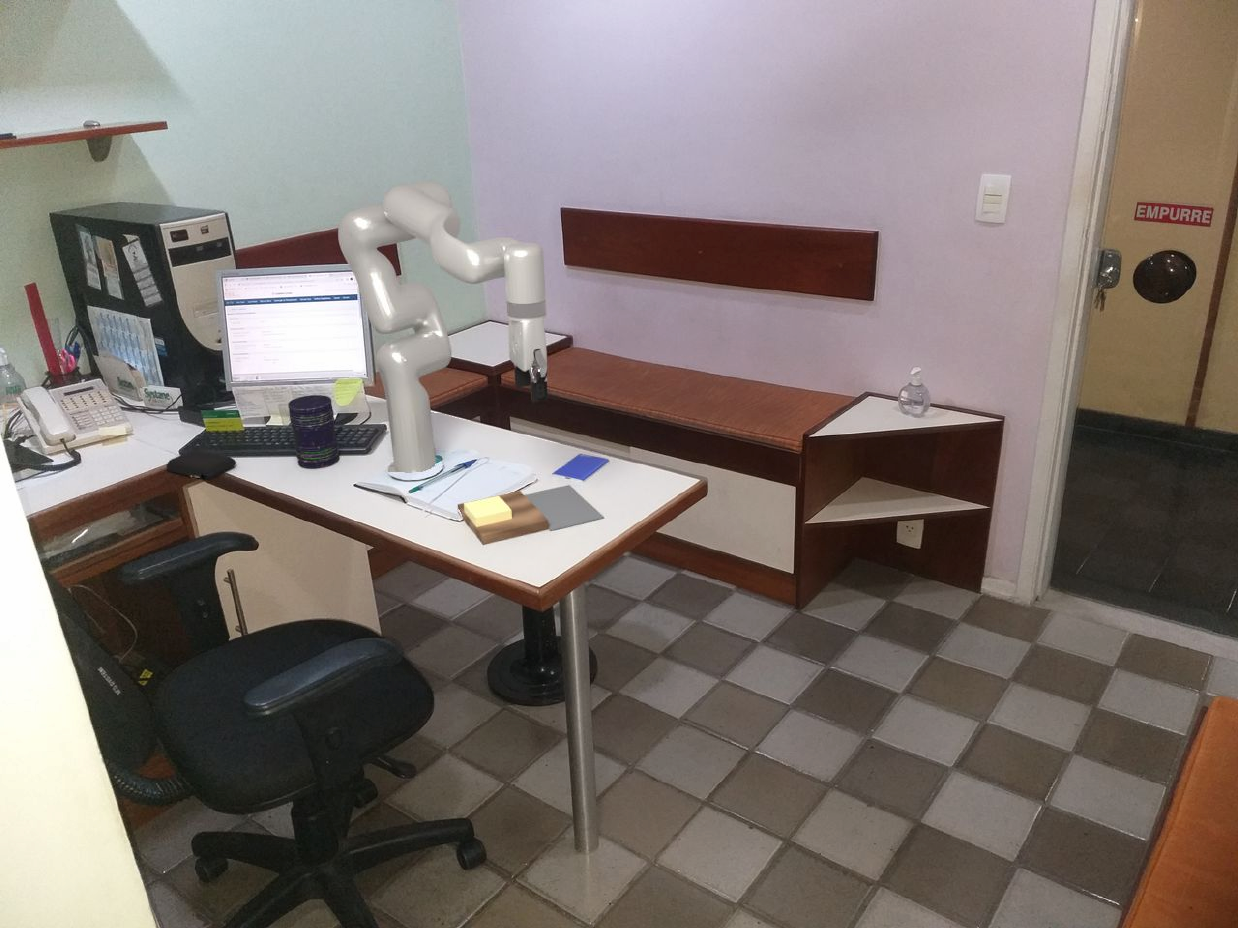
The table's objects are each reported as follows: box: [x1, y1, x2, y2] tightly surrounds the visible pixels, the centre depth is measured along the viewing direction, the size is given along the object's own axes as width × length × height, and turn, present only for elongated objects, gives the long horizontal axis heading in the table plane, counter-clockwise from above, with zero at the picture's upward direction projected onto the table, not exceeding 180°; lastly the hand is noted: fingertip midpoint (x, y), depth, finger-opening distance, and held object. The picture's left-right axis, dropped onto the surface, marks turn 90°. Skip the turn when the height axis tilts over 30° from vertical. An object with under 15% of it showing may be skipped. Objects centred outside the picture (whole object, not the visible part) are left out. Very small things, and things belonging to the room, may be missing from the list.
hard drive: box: [551, 453, 610, 484], centre depth 224 cm, size 2×8×12 cm
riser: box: [457, 490, 549, 545], centre depth 200 cm, size 16×14×2 cm
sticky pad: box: [463, 495, 512, 527], centre depth 198 cm, size 8×8×2 cm
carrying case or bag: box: [166, 449, 237, 481], centre depth 227 cm, size 11×3×15 cm
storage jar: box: [287, 394, 341, 470], centre depth 228 cm, size 10×10×15 cm
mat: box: [524, 484, 605, 532], centre depth 206 cm, size 18×12×1 cm, turn 26°
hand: (531, 393), depth 193 cm, fingers open, 9 cm apart
